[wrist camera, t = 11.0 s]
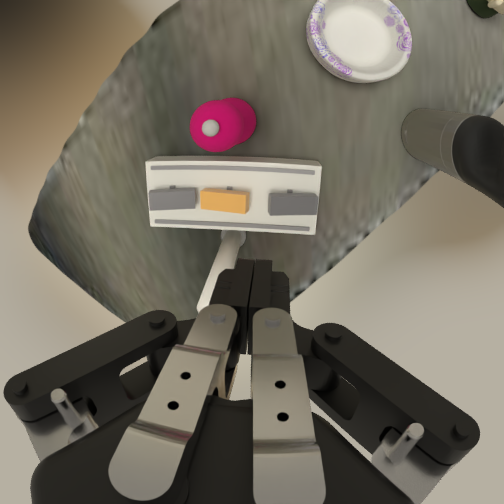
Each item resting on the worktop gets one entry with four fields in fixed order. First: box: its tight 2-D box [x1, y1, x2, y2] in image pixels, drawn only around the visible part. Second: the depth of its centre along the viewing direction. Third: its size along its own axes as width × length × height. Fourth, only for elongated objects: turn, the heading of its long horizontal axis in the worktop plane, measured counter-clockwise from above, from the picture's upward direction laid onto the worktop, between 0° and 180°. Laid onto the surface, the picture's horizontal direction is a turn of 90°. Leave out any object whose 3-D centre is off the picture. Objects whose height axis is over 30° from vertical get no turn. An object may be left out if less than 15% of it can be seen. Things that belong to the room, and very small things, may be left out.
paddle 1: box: [148, 188, 196, 211], centre depth 46 cm, size 7×3×2 cm, turn 89°
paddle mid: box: [200, 188, 250, 214], centre depth 46 cm, size 7×3×2 cm, turn 88°
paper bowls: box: [306, 0, 412, 83], centre depth 36 cm, size 15×15×8 cm
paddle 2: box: [268, 193, 319, 216], centre depth 45 cm, size 7×3×2 cm, turn 89°
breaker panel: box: [146, 156, 322, 235], centre depth 49 cm, size 27×11×6 cm, turn 88°
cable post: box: [197, 230, 246, 313], centre depth 46 cm, size 4×4×22 cm
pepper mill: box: [190, 98, 256, 152], centre depth 38 cm, size 7×7×20 cm
